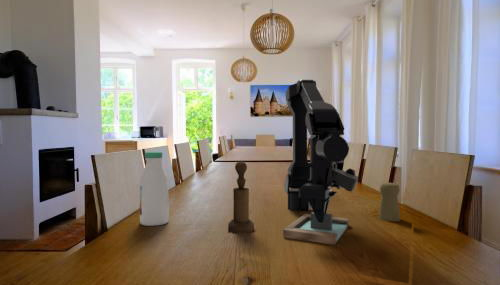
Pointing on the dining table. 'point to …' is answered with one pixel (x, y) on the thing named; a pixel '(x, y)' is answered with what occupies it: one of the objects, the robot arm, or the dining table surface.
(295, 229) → the wooden tray
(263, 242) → the dining table surface
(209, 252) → the dining table surface
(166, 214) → the milk bottle
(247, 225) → the wooden pepper mill
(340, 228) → the cover plate
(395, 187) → the cork
